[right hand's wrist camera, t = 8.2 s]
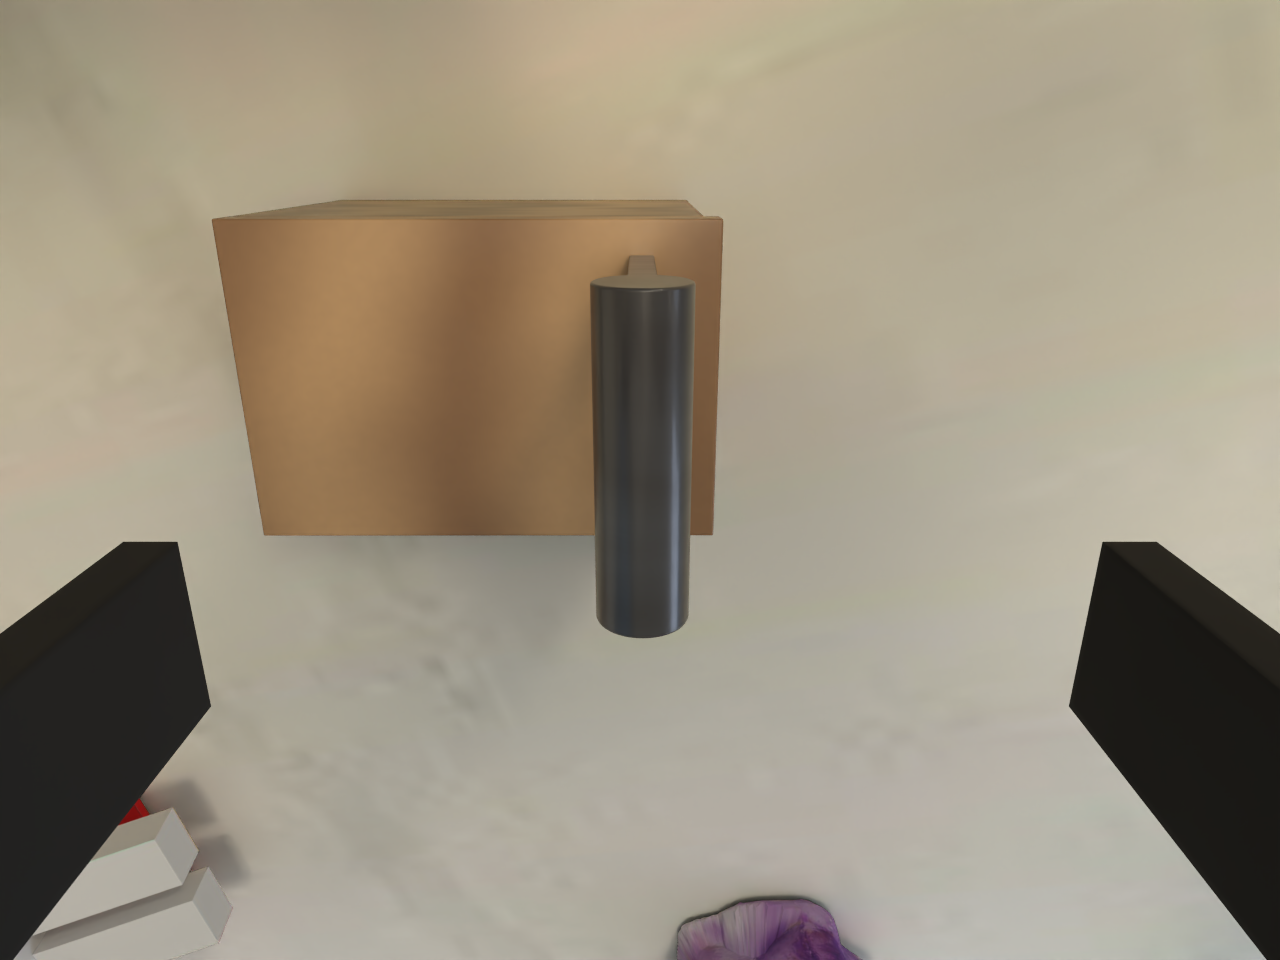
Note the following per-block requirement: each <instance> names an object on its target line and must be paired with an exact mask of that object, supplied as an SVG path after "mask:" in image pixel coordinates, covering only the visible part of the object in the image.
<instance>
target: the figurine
mask: <svg viewBox="0 0 1280 960" xmlns="http://www.w3.org/2000/svg"><path fill="white" fill-rule="evenodd" d="M677 946H678V949H677V950H678V952H677V954H678V955H677V958H678V959H677V960H862V959H861V958H859V957H858V956H856V955H855V954H853V953H852V952H850V951H849V950H848V949H846V948H845V947H843V946H842V945H841V943H840V939H839V935H838V931H837V928H836V925H835V922H834V919H833V917H832V916H831V914H830V913H829V912H828V911H827V910H826V909H824V908H823V907H821V906H819V905H817V904H814V903H813V902H811V901H808V900H804V899H797V900H760V901H752V902H746V903H742V902H740V903H738V904H737V905H735V906H732V907H730V908H727V909H725V910H723V911H721V912H719V913H718V914H716V915H712V916H709V917H703V918H701V919H695V920H693V921H691V922H688V923H686V924H684V925H683V926H682V927H681V929H680V931H679V933H678V945H677Z"/></svg>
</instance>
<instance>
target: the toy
mask: <svg viewBox="0 0 1280 960" xmlns="http://www.w3.org/2000/svg"><path fill="white" fill-rule="evenodd" d="M198 852H199V850H198V848H197V847H196V845H195V843H194V842H193V840H192V838H191V837H190V835H189V833H188V832H187V830H186V828H185V827H184V825H183V823H182V822H181V820H180V818H179V817H178V815H177V813H176V812H175V810H174V808H173V807H172V808H169V809H166V810H163V811H160V812H157V813H154V814H151V815H150V814H149V813H148V811H147V810H146V808H145V807H144V805H143V803H142V802H141V800H140V799H138V800H137V802H136V803H135V804H134V806H133V807H132V808H131V809H130V811H129V812H128V813H127V815H126V816H125V817H124V818H123V820H122V821H121V822H120V824H119V825H118V826H117V827H116V829H115V830H114V831H113V833H112V834H111V835H110V836H109V838H108V839H107V840H106V842H105V843H104V844H103V845H102V847H101V848H100V849H99V850H98V852H97V853H96V854H95V856H94V857H93V858H92V859H91V861H90V862H89V863H88V865H87V866H86V867H85V868H84V870H83V871H82V872H81V874H80V875H79V876H78V877H77V879H76V880H75V881H74V883H73V884H72V885H71V886H70V888H69V889H68V890H67V892H66V893H65V894H64V895H63V897H62V898H61V899H60V901H59V902H58V903H57V904H56V906H55V907H54V908H53V909H52V911H51V912H50V913H49V915H48V916H47V917H46V918H45V920H44V921H43V922H42V924H41V925H40V926H39V927H38V929H37V930H36V931H35V933H34V934H33V935H32V936H31V938H30V939H29V940H28V942H27V943H26V944H25V945H24V947H23V948H22V949H21V951H20V952H19V953H18V954H17V956H16V957H15V958H14V959H13V960H171V959H174V958H177V957H180V956H183V955H186V954H189V953H192V952H194V951H197V950H200V949H203V948H206V947H209V946H212V945H215V944H218V943H219V941H220V939H221V936H222V934H223V931H224V929H225V926H226V924H227V921H228V919H229V916H230V914H231V911H232V909H233V907H232V905H231V903H230V902H229V900H228V898H227V897H226V895H225V893H224V892H223V890H222V888H221V887H220V885H219V883H218V882H217V880H216V878H215V877H214V875H213V873H212V872H211V870H210V868H209V867H205V868H202V869H199V870H196V871H193V872H190V873H189V871H190V869H191V867H192V864H193V862H194V860H195V858H196V856H197V854H198Z"/></svg>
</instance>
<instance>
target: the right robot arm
mask: <svg viewBox="0 0 1280 960" xmlns="http://www.w3.org/2000/svg"><path fill="white" fill-rule="evenodd" d="M210 707H211V704H210V699H209V694H208V689H207V684H206V679H205V674H204V670H203V665H202V660H201V655H200V650H199V645H198V640H197V635H196V630H195V626H194V621H193V616H192V611H191V606H190V601H189V596H188V591H187V586H186V582H185V577H184V572H183V567H182V562H181V557H180V552H179V547H178V542H123V543H121V544H120V545H119V546H117V547H116V548H115V549H113V550H112V551H111V552H109V553H108V554H107V555H105V556H104V557H102V558H101V559H100V560H98V561H97V562H96V563H94V564H93V565H92V566H90V567H89V568H88V569H86V570H85V571H84V572H82V573H81V574H80V575H78V576H77V577H76V578H74V579H73V580H72V581H70V582H69V583H68V584H66V585H65V586H64V587H62V588H61V589H60V590H58V591H57V592H56V593H54V594H53V595H52V596H50V597H49V598H48V599H46V600H45V601H44V602H42V603H41V604H40V605H38V606H37V607H36V608H34V609H33V610H32V611H30V612H29V613H27V614H26V615H25V616H23V617H22V618H21V619H19V620H18V621H17V622H15V623H14V624H13V625H11V626H10V627H9V628H7V629H6V630H5V631H3V632H2V633H1V634H0V960H13V959H14V958H15V957H16V956H17V954H18V953H19V952H20V951H21V949H22V948H23V947H24V945H25V944H26V943H27V942H28V940H29V939H30V938H31V936H32V935H33V934H34V933H35V931H36V930H37V929H38V927H39V926H40V925H41V924H42V922H43V921H44V920H45V918H46V917H47V916H48V915H49V913H50V912H51V911H52V909H53V908H54V907H55V906H56V904H57V903H58V902H59V901H60V899H61V898H62V897H63V895H64V894H65V893H66V892H67V890H68V889H69V888H70V886H71V885H72V884H73V883H74V881H75V880H76V879H77V877H78V876H79V875H80V874H81V872H82V871H83V870H84V868H85V867H86V866H87V865H88V863H89V862H90V861H91V859H92V858H93V857H94V856H95V854H96V853H97V852H98V850H99V849H100V848H101V847H102V845H103V844H104V843H105V842H106V840H107V839H108V838H109V836H110V835H111V834H112V833H113V831H114V830H115V829H116V827H117V826H118V825H119V824H120V822H121V821H122V820H123V818H124V817H125V816H126V815H127V813H128V812H129V811H130V809H131V808H132V807H133V806H134V804H135V803H136V802H137V800H138V799H139V798H140V797H141V795H142V794H143V793H144V792H145V790H146V789H147V788H148V786H149V785H150V784H151V783H152V781H153V780H154V779H155V777H156V776H157V775H158V774H159V772H160V771H161V770H162V768H163V767H164V766H165V765H166V763H167V762H168V761H169V759H170V758H171V757H172V756H173V754H174V753H175V752H176V750H177V749H178V748H179V747H180V745H181V744H182V743H183V742H184V740H185V739H186V738H187V736H188V735H189V734H190V733H191V731H192V730H193V729H194V727H195V726H196V725H197V724H198V722H199V721H200V720H201V718H202V717H203V716H204V715H205V713H206V712H207V711H208V709H209V708H210ZM1069 707H1070V708H1071V709H1072V711H1073V712H1074V713H1075V715H1076V716H1077V717H1078V718H1079V720H1080V721H1081V722H1082V724H1083V725H1084V726H1085V727H1086V729H1087V730H1088V731H1089V733H1090V734H1091V735H1092V736H1093V738H1094V739H1095V740H1096V742H1097V743H1098V744H1099V745H1100V747H1101V748H1102V749H1103V750H1104V752H1105V753H1106V754H1107V756H1108V757H1109V758H1110V759H1111V761H1112V762H1113V763H1114V765H1115V766H1116V767H1117V768H1118V770H1119V771H1120V772H1121V774H1122V775H1123V776H1124V777H1125V779H1126V780H1127V781H1128V783H1129V784H1130V785H1131V786H1132V788H1133V789H1134V790H1135V792H1136V793H1137V794H1138V795H1139V797H1140V798H1141V799H1142V800H1143V802H1144V803H1145V804H1146V806H1147V807H1148V808H1149V809H1150V811H1151V812H1152V813H1153V815H1154V816H1155V817H1156V818H1157V820H1158V821H1159V822H1160V824H1161V825H1162V826H1163V827H1164V829H1165V830H1166V831H1167V833H1168V834H1169V835H1170V836H1171V838H1172V839H1173V840H1174V842H1175V843H1176V844H1177V845H1178V847H1179V848H1180V849H1181V850H1182V852H1183V853H1184V854H1185V856H1186V857H1187V858H1188V859H1189V861H1190V862H1191V863H1192V865H1193V866H1194V867H1195V868H1196V870H1197V871H1198V872H1199V874H1200V875H1201V876H1202V877H1203V879H1204V880H1205V881H1206V883H1207V884H1208V885H1209V886H1210V888H1211V889H1212V890H1213V892H1214V893H1215V894H1216V895H1217V897H1218V898H1219V899H1220V901H1221V902H1222V903H1223V904H1224V906H1225V907H1226V908H1227V909H1228V911H1229V912H1230V913H1231V915H1232V916H1233V917H1234V918H1235V920H1236V921H1237V922H1238V924H1239V925H1240V926H1241V927H1242V929H1243V930H1244V931H1245V933H1246V934H1247V935H1248V936H1249V938H1250V939H1251V940H1252V942H1253V943H1254V944H1255V945H1256V947H1257V948H1258V949H1259V951H1260V952H1261V953H1262V954H1263V956H1264V957H1265V958H1266V959H1267V960H1280V634H1279V633H1278V632H1277V631H1275V630H1274V629H1273V628H1271V627H1270V626H1269V625H1267V624H1266V623H1265V622H1263V621H1262V620H1261V619H1259V618H1258V617H1257V616H1255V615H1254V614H1253V613H1251V612H1250V611H1248V610H1247V609H1246V608H1244V607H1243V606H1242V605H1240V604H1239V603H1238V602H1236V601H1235V600H1234V599H1232V598H1231V597H1230V596H1228V595H1227V594H1226V593H1224V592H1223V591H1222V590H1220V589H1219V588H1218V587H1216V586H1215V585H1214V584H1212V583H1211V582H1210V581H1208V580H1207V579H1206V578H1204V577H1203V576H1202V575H1200V574H1199V573H1198V572H1196V571H1195V570H1194V569H1192V568H1191V567H1190V566H1188V565H1187V564H1186V563H1184V562H1183V561H1182V560H1180V559H1179V558H1178V557H1176V556H1175V555H1173V554H1172V553H1171V552H1169V551H1168V550H1167V549H1165V548H1164V547H1163V546H1161V545H1160V544H1159V543H1157V542H1102V547H1101V552H1100V557H1099V562H1098V567H1097V572H1096V577H1095V582H1094V586H1093V591H1092V596H1091V601H1090V606H1089V611H1088V616H1087V621H1086V626H1085V630H1084V635H1083V640H1082V645H1081V650H1080V655H1079V660H1078V665H1077V670H1076V674H1075V679H1074V684H1073V689H1072V694H1071V699H1070V704H1069Z"/></svg>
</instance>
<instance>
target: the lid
mask: <svg viewBox="0 0 1280 960" xmlns="http://www.w3.org/2000/svg"><path fill="white" fill-rule="evenodd" d="M212 224H213V230H214V236H215V242H216V248H217V254H218V260H219V266H220V272H221V278H222V284H223V290H224V296H225V302H226V308H227V314H228V320H229V326H230V332H231V338H232V344H233V350H234V356H235V362H236V368H237V375H238V381H239V387H240V393H241V399H242V405H243V411H244V417H245V423H246V429H247V435H248V441H249V447H250V453H251V459H252V465H253V471H254V477H255V483H256V489H257V495H258V501H259V507H260V513H261V519H262V525H263V531H264V535H595V568H596V615H597V619H598V621H599V623H600V624H601V625H602V626H603V627H604V628H605V629H607V630H609V631H610V632H613V633H615V634H618V635H621V636H626V637H632V638H653V637H659V636H664V635H667V634H670V633H672V632H675V631H676V630H678V629H680V628H681V627H682V626H683V625H684V624H685V622H686V621H687V619H688V608H689V563H690V535H713V521H714V490H715V459H716V428H717V397H718V366H719V335H720V304H721V273H722V242H723V219H722V218H720V217H718V216H229V217H222V218H216V219H212Z"/></svg>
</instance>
